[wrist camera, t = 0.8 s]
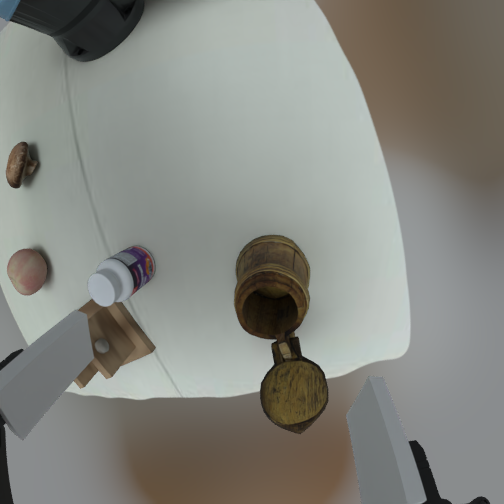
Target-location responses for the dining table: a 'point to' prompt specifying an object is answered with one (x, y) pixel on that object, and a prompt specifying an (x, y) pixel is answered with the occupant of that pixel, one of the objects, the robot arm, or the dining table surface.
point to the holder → (112, 340)
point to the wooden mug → (280, 328)
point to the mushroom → (19, 165)
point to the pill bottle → (121, 276)
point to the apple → (27, 271)
